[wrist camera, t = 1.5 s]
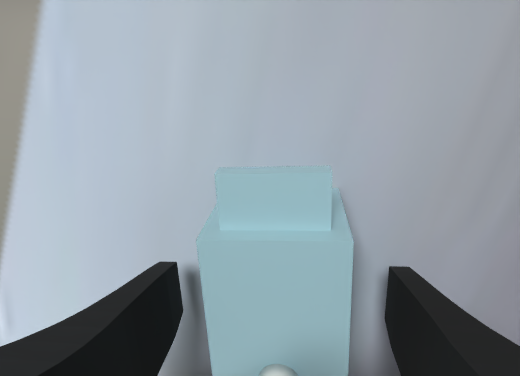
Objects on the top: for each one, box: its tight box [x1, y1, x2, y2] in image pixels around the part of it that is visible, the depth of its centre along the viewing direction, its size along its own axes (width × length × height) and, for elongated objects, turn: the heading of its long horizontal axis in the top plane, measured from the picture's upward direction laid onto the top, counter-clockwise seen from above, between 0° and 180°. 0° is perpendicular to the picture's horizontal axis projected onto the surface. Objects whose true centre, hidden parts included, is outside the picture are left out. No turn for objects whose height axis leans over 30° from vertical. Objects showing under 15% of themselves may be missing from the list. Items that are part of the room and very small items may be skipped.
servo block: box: [196, 166, 354, 376], centre depth 12 cm, size 4×9×5 cm, turn 3°
